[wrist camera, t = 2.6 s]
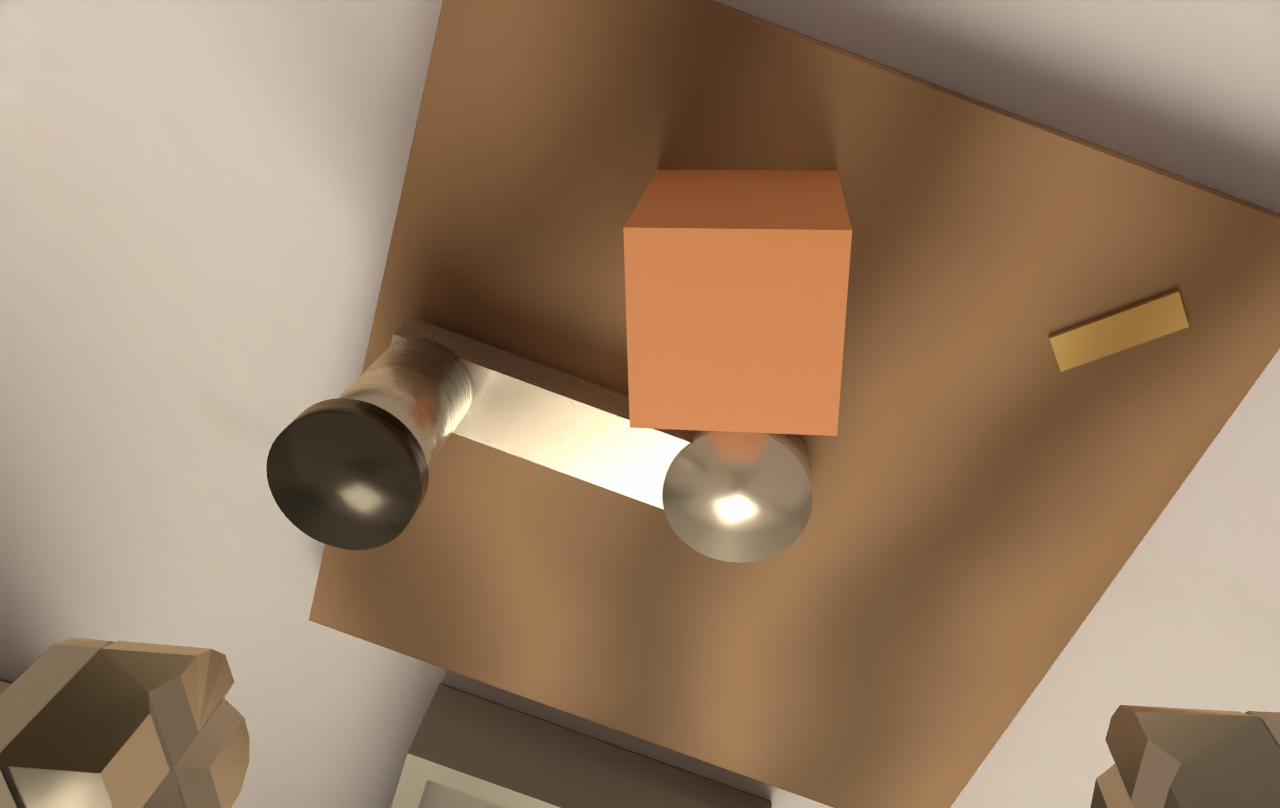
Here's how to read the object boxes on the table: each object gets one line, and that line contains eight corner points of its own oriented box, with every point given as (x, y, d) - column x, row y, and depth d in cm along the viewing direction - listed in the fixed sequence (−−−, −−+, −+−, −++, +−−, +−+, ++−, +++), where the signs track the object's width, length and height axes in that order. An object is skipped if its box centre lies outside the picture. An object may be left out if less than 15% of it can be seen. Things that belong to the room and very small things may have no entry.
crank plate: (1316, 228, 21) (1356, 247, 20) (920, 801, 30) (926, 843, 29) (482, -86, 21) (460, -89, 19) (330, 590, 30) (307, 622, 28)
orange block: (837, 170, 21) (851, 230, 16) (826, 340, 23) (837, 435, 18) (656, 170, 21) (623, 227, 17) (659, 335, 23) (629, 427, 19)
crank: (833, 438, 23) (849, 586, 18) (777, 550, 25) (776, 718, 19) (400, 279, 23) (281, 380, 18) (371, 402, 25) (255, 531, 19)
